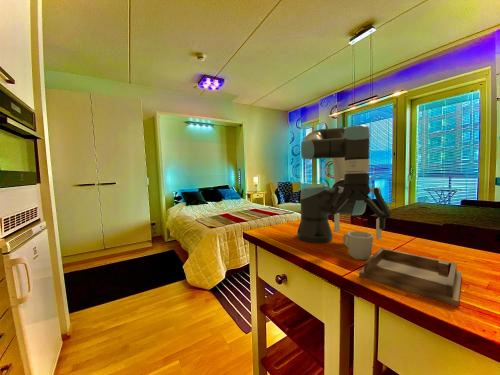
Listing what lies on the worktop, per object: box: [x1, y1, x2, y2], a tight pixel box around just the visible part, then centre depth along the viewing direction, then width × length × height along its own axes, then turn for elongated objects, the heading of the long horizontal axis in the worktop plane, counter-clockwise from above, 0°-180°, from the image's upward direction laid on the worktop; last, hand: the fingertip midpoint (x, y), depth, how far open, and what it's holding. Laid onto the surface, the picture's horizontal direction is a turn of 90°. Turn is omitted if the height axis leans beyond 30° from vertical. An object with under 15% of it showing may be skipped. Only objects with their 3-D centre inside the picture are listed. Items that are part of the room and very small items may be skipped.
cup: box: [342, 230, 374, 261], centre depth 74 cm, size 11×8×8 cm
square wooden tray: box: [358, 247, 463, 308], centre depth 59 cm, size 20×18×4 cm
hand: (356, 234), depth 74 cm, fingers open, 13 cm apart
